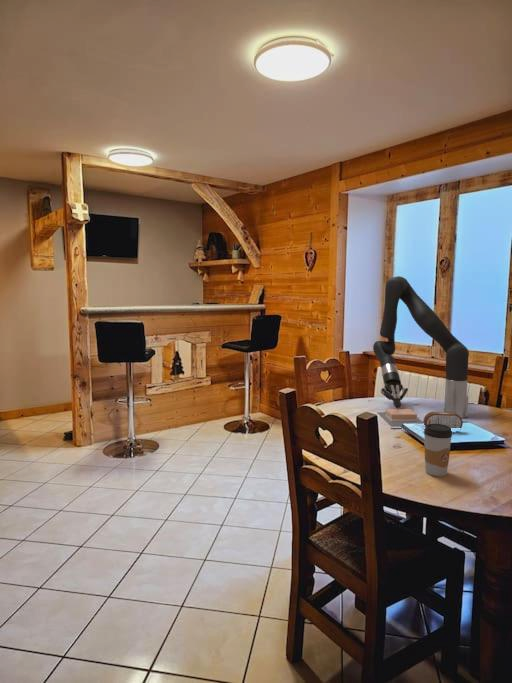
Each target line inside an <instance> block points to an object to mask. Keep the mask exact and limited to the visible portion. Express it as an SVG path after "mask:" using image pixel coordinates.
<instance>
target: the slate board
mask: <svg viewBox="0 0 512 683" xmlns="http://www.w3.org/2000/svg"><path fill="white" fill-rule="evenodd" d="M385 412H386V411H385ZM385 412H382V411H381V412H380V411H376V413H377V414H378V415H379V416H380V418H382V419H383V421H385V423H387V425H389V426H390V430H403V429H402V428H404V427H403V426H402V424H403V423H424V420H422V419H420V418H419V417H418V416H417V421H391V420H390V419H389V418H388V417H386V416H385Z"/></svg>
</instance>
